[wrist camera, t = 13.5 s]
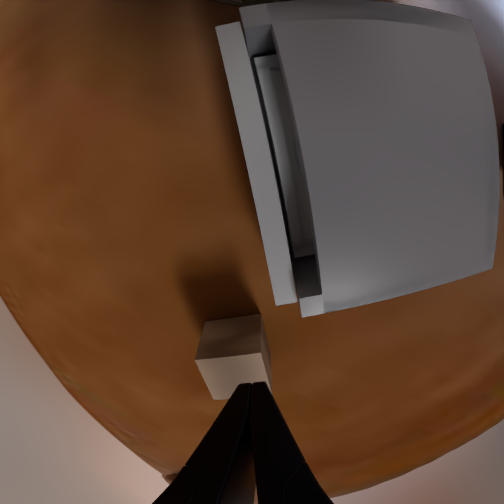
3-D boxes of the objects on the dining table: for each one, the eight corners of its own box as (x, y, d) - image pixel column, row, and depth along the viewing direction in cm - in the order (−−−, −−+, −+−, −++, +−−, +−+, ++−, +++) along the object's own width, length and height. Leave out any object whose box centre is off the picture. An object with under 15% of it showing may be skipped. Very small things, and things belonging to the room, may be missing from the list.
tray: (408, 41, 11) (444, 23, 7) (433, 235, 16) (469, 261, 12) (225, 54, 12) (213, 26, 9) (271, 267, 17) (274, 305, 13)
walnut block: (260, 313, 19) (260, 352, 16) (270, 354, 21) (272, 394, 17) (205, 321, 20) (195, 360, 16) (220, 361, 21) (213, 399, 18)
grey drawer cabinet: (416, 43, 12) (470, 20, 6) (440, 231, 17) (492, 268, 11) (246, 50, 13) (239, 7, 7) (289, 261, 18) (301, 317, 12)
